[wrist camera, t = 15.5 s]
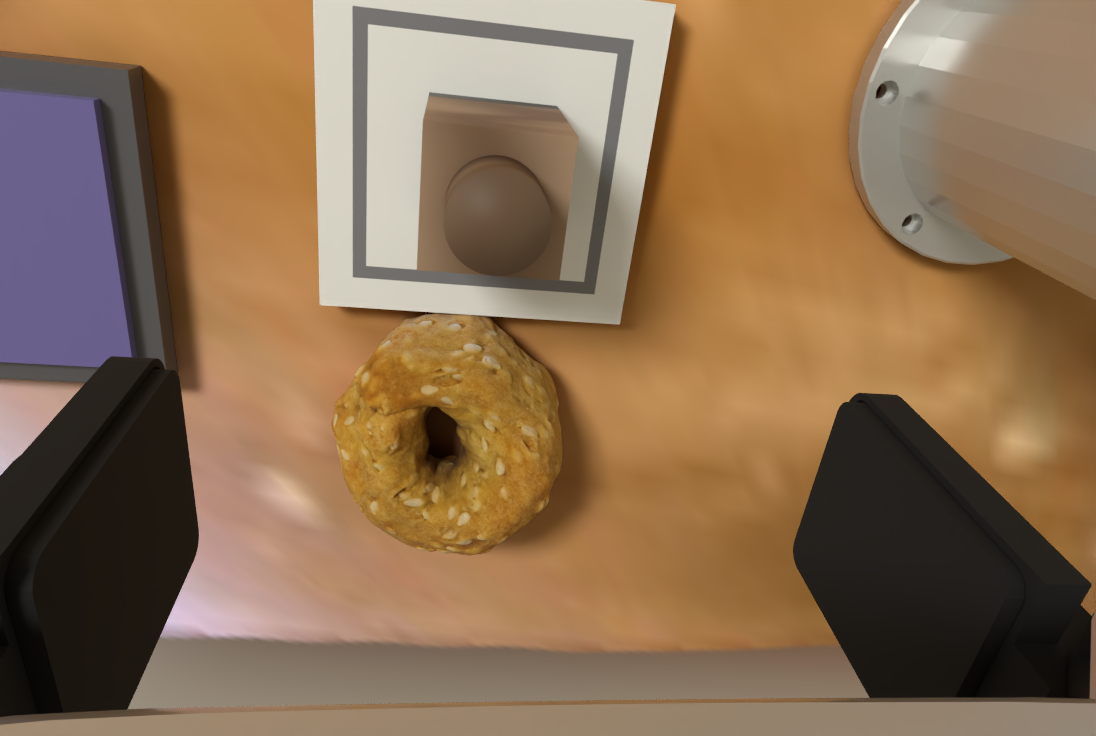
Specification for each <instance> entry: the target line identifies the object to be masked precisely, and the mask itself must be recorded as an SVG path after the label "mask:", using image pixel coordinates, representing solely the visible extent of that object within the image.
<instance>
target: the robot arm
mask: <svg viewBox="0 0 1096 736" xmlns="http://www.w3.org/2000/svg"><path fill="white" fill-rule="evenodd" d="M879 85H881V91H880V92H879V94H878V95H876V91H877V89H878V87H879ZM849 159H850V164H851V168H852V172H853V177H854V181H855V186H856V188H857V190H858V192H859V194H860V196H861V199H862V201H863V203H864V205H865V207H866V209H867V211H868V212H869V213H870V214H871V216H872V217H873V218H874V219H875V221H876V222H877V223H878V224H879V226H880V227H881V228H882V229H883V230H884V231H886V232H887V233H888V234H890V235H891V236H892V237H893V238H895V239H896V240H897V241H899V242H900V243H901V244H903V245H905V246H907V247H908V248H910V249H912V250H914V251H916V252H917V253H919V254H921V255H922V256H926V257H929V258H932V259H936V260H939V261H942V262H945V263H955V264H967V265H977V264H986V263H995V262H1001V261H1005V260H1008V259H1012V258H1016V259H1018V260H1020V261H1022V262H1023V263H1025V264H1027V265H1029V266H1031V267H1033V268H1035V269H1037V270H1039V271H1040V272H1042V273H1044V274H1046V275H1048V276H1050V277H1052V278H1054V279H1055V280H1057V281H1059V282H1061V283H1063V284H1065V285H1067V286H1069V287H1071V288H1072V289H1074V290H1076V291H1078V292H1080V293H1082V294H1084V295H1086V296H1087V297H1089V298H1091V299H1093V300H1095V301H1096V0H902V1H901V3H900V4H899V6H898V7H897V8H896V10H895V11H894V13H893V14H892V15H891V17H890V18H889V20H888V21H887V22H886V24H885V25H884V27H883V28H882V29H881V31H880V33H879V35H878V37H877V39H876V41H875V43H874V45H873V47H872V49H871V51H870V53H869V55H868V57H867V59H866V61H865V63H864V66H863V69H862V72H861V75H860V78H859V81H858V84H857V87H856V90H855V93H854V97H853V103H852V110H851V116H850V122H849ZM904 219H905V220H904ZM198 540H199V530H198V521H197V513H196V506H195V498H194V490H193V482H192V474H191V466H190V458H189V450H188V442H187V434H186V426H185V419H184V411H183V403H182V395H181V387H180V380H179V376H178V374H177V372H176V371H175V370H165V367H164V365H163V363H162V361H161V360H160V359H158V358H138V357H118V356H111V357H109V358H108V359H107V360H106V361H105V362H104V363H103V364H102V365H101V366H100V367H99V369H98V370H97V371H96V372H95V373H94V374H93V375H92V376H91V378H90V379H89V380H88V381H87V382H86V383H85V384H84V385H83V386H82V388H81V389H80V390H79V391H78V392H77V393H76V394H75V395H74V397H73V398H72V399H71V400H70V401H69V402H68V403H67V404H66V406H65V407H64V408H63V409H62V410H61V411H60V412H59V413H58V414H57V416H56V417H55V418H54V419H53V420H52V421H51V422H50V423H49V425H48V426H47V427H46V428H45V429H44V430H43V431H42V432H41V434H40V435H39V436H38V437H37V438H36V439H35V440H34V441H33V442H32V444H31V445H30V446H29V447H28V448H27V449H26V450H25V451H24V453H23V454H22V455H21V456H19V457H18V458H17V459H16V460H14V461H13V462H12V464H11V465H10V466H9V467H8V468H7V469H6V470H5V471H4V472H3V474H2V475H1V476H0V736H1096V611H1095V612H1094V613H1093V615H1092V616H1091V615H1090V614H1089V613H1088V612H1087V611H1086V610H1085V609H1084V608H1083V607H1082V606H1081V605H1080V604H1081V603H1082V601H1083V599H1084V598H1085V596H1086V594H1087V592H1088V591H1089V589H1090V587H1091V585H1092V584H1091V583H1090V582H1089V581H1088V580H1087V579H1086V578H1085V577H1084V576H1083V575H1082V574H1081V573H1080V572H1079V571H1077V570H1076V569H1075V568H1074V567H1073V566H1072V565H1071V564H1070V563H1069V562H1068V561H1067V560H1066V559H1065V558H1064V557H1063V556H1062V555H1061V554H1060V553H1059V552H1058V551H1057V550H1056V549H1055V548H1054V547H1053V546H1052V545H1051V544H1050V543H1049V542H1048V541H1047V540H1046V539H1045V538H1044V537H1043V536H1042V535H1041V534H1040V533H1039V532H1038V531H1037V530H1036V529H1035V528H1034V527H1033V526H1032V525H1031V524H1030V523H1029V522H1028V521H1027V520H1025V519H1024V518H1023V517H1022V516H1021V515H1020V514H1019V513H1018V512H1017V511H1016V510H1015V509H1014V508H1013V507H1012V506H1011V505H1010V504H1009V503H1008V502H1007V501H1006V500H1005V499H1004V498H1003V497H1002V496H1001V495H1000V494H999V493H998V492H997V491H996V490H995V489H994V488H993V487H992V486H991V485H990V484H989V483H988V482H987V481H986V480H985V479H984V478H983V477H982V476H981V475H980V474H979V473H978V472H977V471H976V470H975V469H973V468H972V467H971V466H970V465H969V464H968V463H967V462H966V461H965V460H964V459H963V458H962V457H961V456H960V455H959V454H958V453H957V452H956V451H955V450H954V449H953V448H952V447H951V446H950V445H949V444H948V443H947V442H946V441H945V440H944V439H943V438H942V437H941V436H940V435H939V434H938V433H937V432H936V431H935V430H934V429H933V428H932V427H931V426H930V425H929V424H928V423H927V422H926V421H925V420H924V419H922V418H921V417H920V416H919V415H918V414H917V413H916V412H915V411H914V410H913V409H912V408H911V407H910V406H909V405H908V404H907V403H906V402H905V401H904V400H903V399H902V398H901V397H899V396H898V395H889V394H869V393H858V394H856V395H854V396H853V397H852V398H851V400H850V401H849V402H845V403H843V404H842V405H841V406H840V407H839V410H838V412H837V415H836V418H835V421H834V424H833V427H832V430H831V433H830V436H829V439H828V442H827V445H826V448H825V451H824V454H823V457H822V460H821V463H820V466H819V469H818V472H817V475H816V478H815V481H814V484H813V487H812V490H811V493H810V496H809V499H808V502H807V505H806V508H805V511H804V514H803V517H802V520H801V523H800V526H799V529H798V532H797V535H796V538H795V541H794V547H793V554H794V560H795V564H796V566H797V569H798V570H799V572H800V574H801V576H802V577H803V579H804V581H805V583H806V585H807V586H808V588H809V590H810V592H811V594H812V595H813V597H814V599H815V601H816V603H817V604H818V606H819V608H820V610H821V611H822V613H823V615H824V617H825V619H826V620H827V622H828V624H829V626H830V628H831V629H832V631H833V633H834V635H835V636H836V638H837V640H838V642H839V644H840V645H841V647H842V649H843V651H844V653H845V654H846V656H847V658H848V660H849V661H850V663H851V665H852V667H853V669H854V670H855V672H856V674H857V676H858V678H859V679H860V681H861V683H862V685H863V686H864V688H865V690H866V692H867V693H868V695H869V697H870V698H799V699H798V698H794V699H793V698H791V699H789V698H787V699H786V698H784V699H686V700H685V699H680V700H679V699H678V700H594V701H519V702H518V701H517V702H456V703H455V702H453V703H399V704H398V703H397V704H341V705H285V706H234V707H187V708H186V707H185V708H149V709H148V708H147V709H128V706H129V704H130V702H131V700H132V698H133V695H134V693H135V691H136V689H137V686H138V684H139V682H140V680H141V677H142V675H143V673H144V671H145V669H146V666H147V664H148V662H149V660H150V657H151V655H152V653H153V651H154V648H155V646H156V644H157V642H158V639H159V637H160V635H161V633H162V630H163V628H164V626H165V624H166V621H167V619H168V617H169V615H170V612H171V610H172V608H173V606H174V604H175V601H176V599H177V597H178V595H179V592H180V590H181V588H182V586H183V583H184V581H185V579H186V577H187V574H188V572H189V570H190V568H191V565H192V563H193V561H194V558H195V556H196V552H197V548H198ZM127 709H128V710H127Z"/></svg>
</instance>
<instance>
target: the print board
mask: <svg viewBox="0 0 1096 736" xmlns="http://www.w3.org/2000/svg"><path fill="white" fill-rule="evenodd" d="M675 7H676V5H675V4H670V3H663V2H655V1H647V0H313V19H314V64H315V109H316V154H317V198H318V243H319V288H320V305H327V306H342V307H358V308H373V309H388V310H404V311H419V312H434V313H450V314H465V315H480V316H496V317H511V318H526V319H542V320H557V321H572V322H588V323H603V324H618V325H620V320H621V315H622V309H623V303H624V297H625V292H626V286H627V280H628V275H629V269H630V263H631V258H632V252H633V246H634V240H635V235H636V229H637V223H638V218H639V212H640V206H641V201H642V195H643V189H644V183H645V178H646V172H647V166H648V161H649V155H650V149H651V143H652V138H653V132H654V126H655V121H656V115H657V109H658V104H659V98H660V92H661V86H662V81H663V75H664V69H665V64H666V58H667V52H668V47H669V41H670V35H671V29H672V24H673V18H674V12H675ZM429 92H432V93H441V94H451V95H460V96H469V97H478V98H488V99H497V100H506V101H515V102H525V103H534V104H543V105H552V106H558V108H559V109H560V111H561V112H562V114H563V115H564V117H565V118H566V119H567V121H568V122H569V124H570V125H571V127H572V128H573V130H574V131H575V132H576V134H577V135H578V145H577V152H576V160H575V167H574V175H573V182H572V190H571V197H570V205H569V213H568V220H567V228H566V235H565V243H564V250H563V258H562V265H561V273H560V280H559V281H557V280H543V279H529V278H516V277H502V276H489V275H475V274H462V273H448V272H435V271H421V270H417V251H418V226H419V202H420V178H421V153H422V129H423V118H424V114H425V109H426V105H427V101H428V96H429Z"/></svg>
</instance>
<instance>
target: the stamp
mask: <svg viewBox="0 0 1096 736" xmlns="http://www.w3.org/2000/svg"><path fill="white" fill-rule="evenodd" d="M577 145H578V135H577V134H576V132H575V131H574V130H573V128H572V127H571V125H570V124H569V122H568V121H567V119H566V118H565V117H564V115H563V114H562V112H561V111H560V109H559V108H558V106H552V105H543V104H534V103H525V102H515V101H506V100H497V99H488V98H478V97H469V96H460V95H451V94H441V93H432V92H429V96H428V101H427V105H426V109H425V114H424V118H423V129H422V153H421V178H420V202H419V226H418V251H417V270H421V271H435V272H448V273H462V274H475V275H489V276H502V277H516V278H529V279H543V280H557V281H559V280H560V273H561V265H562V258H563V250H564V243H565V235H566V228H567V220H568V213H569V205H570V197H571V190H572V182H573V175H574V167H575V160H576V152H577Z"/></svg>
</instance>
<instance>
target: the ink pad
mask: <svg viewBox="0 0 1096 736" xmlns="http://www.w3.org/2000/svg"><path fill="white" fill-rule="evenodd" d="M111 356H118V357H138V358H158V359H160V360H161V361H162V363H163V365H164V367H165V370H175V371H176V372H177V373H178V370H177V362H176V353H175V345H174V337H173V328H172V320H171V312H170V304H169V295H168V287H167V279H166V270H165V262H164V254H163V245H162V237H161V229H160V220H159V212H158V204H157V195H156V187H155V179H154V170H153V162H152V154H151V145H150V137H149V129H148V120H147V112H146V104H145V95H144V87H143V79H142V71H141V66H139V65H130V64H120V63H111V62H102V61H92V60H83V59H73V58H64V57H54V56H45V55H36V54H26V53H17V52H7V51H0V378H4V379H24V380H45V381H65V382H87V381H88V380H89V379H90V378H91V376H92V375H93V374H94V373H95V372H96V371H97V370H98V369H99V367H100V366H101V365H102V364H103V363H104V362H105V361H106V360H107V359H108V358H109V357H111Z"/></svg>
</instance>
